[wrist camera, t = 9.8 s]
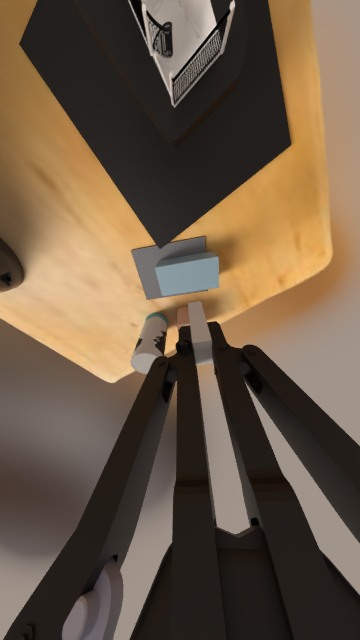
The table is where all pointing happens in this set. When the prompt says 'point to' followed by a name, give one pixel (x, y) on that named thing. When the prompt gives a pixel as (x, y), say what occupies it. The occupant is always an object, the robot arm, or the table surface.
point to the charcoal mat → (151, 256)
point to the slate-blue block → (188, 273)
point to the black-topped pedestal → (166, 96)
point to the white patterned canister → (150, 343)
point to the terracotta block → (183, 317)
